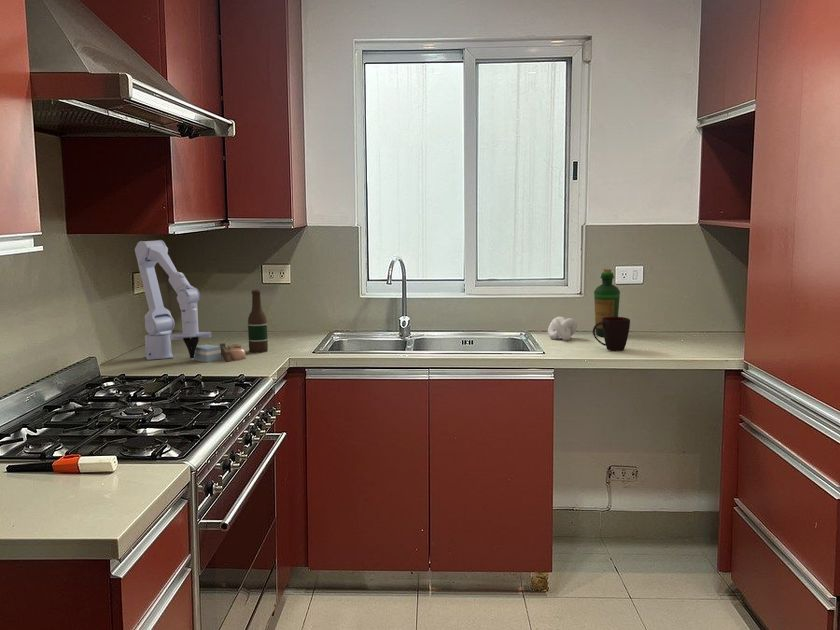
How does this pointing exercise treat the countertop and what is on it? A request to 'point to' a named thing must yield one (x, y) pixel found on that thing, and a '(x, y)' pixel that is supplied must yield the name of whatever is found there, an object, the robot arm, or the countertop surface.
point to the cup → (614, 332)
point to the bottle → (606, 300)
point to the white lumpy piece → (562, 328)
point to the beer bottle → (257, 326)
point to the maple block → (233, 346)
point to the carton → (207, 353)
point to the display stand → (225, 352)
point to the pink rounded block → (237, 354)
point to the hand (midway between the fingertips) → (191, 357)
